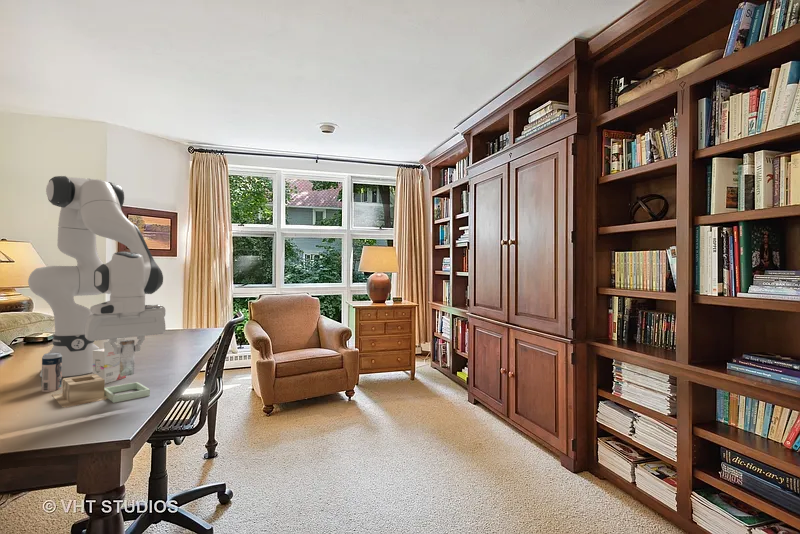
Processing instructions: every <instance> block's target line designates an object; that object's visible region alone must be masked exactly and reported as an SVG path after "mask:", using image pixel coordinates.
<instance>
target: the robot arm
mask: <svg viewBox="0 0 800 534" xmlns="http://www.w3.org/2000/svg"><path fill="white" fill-rule="evenodd" d="M45 192H46V193H45V194H46V197H47V199H48V202H49V203H51V205H53V206H56V207H60V212H59V216H58V224H57V226H58V227H57V249H58V250H59V251H60V252H61V253H62V254H64V255H66V256H68V257H70V258H74V259H75V260H76V264H77V265H50V266H43V267H37V268H35V269H34V270H33V271H32V272H31V273H30V275H29V277H28V280H27V283H28V288H29V289H30V291H31V292H32V293H33V294H35V296H38V297H40V298H41V299H42V300H44V301H45V302H46V303H47V305H49V307H50V308H51V311H52V313H53V318H54V320H53V321H54V334H53V336H52V337H53V338H52V345H53V346H52V348H51V349H50V350H49V351H48V353H60V354H61V355H62V378H67V377H77V376H83V375H88V374H92V373H93V350H98V349H100V347H99V346H98V345H96V344H95V343H94V342H97V341H104V340H105V341H106V340H108V341H109V342H110V344H111V346H112V347H113V348H114V354H120V353H121V347H117V346H116V345H117V343H115V342H117V339H122V338H125V339H127V338H134V337H136V338H137V340H138V341H137V342H136V344H134V353H135V352H141V346H142V344H143V342H145V340H146V339H145V336H154V335H156V336H157V335H163V334H164V333H165V332H166V331H167V330H166V329H167V327H166V320H165V317H166V308H165V307H164V305H161V304H146V295H152V294H154V293H155V292H157V291H158V290H159V289H160V288H161V287H162V286H163V283H164V275H163V272H162V270H161V268H160V267H159V265H158V264H157V263H156V261H155V259H154V257H153V254H152V253H151V250H150V249H149V246H148V245H147V243H146V240H145V239H144V236H143V234H142V233H141V230H140V229H139V227H138V226H137V224H134V223H133V222H132V221H131V220H129V219H128V218H127V216H126V215H125V213H123V210H122V207H123V205H124V203H125V193H124V190H123V187H122V186H120V185H119V184H116V183H115V182H110V181H109V182H107V181H105V180H102V179H98V178H97V179H94V178H85V177H70V176H69V177H68V176H66V175H56V176H53V177H52V178H50V179H49V180H48V182H47V185H46V187H45ZM97 236H99V237H103V238H106V239H109V240H112V241H116V242H118V243H120V244H122V245H124V246H126V247H127V249H128V250H129V251H116V252H114V253H113V254H112V255H111V256H112V257H111V260H109V261H108V262H106V263H104V262H103V261H102V260H101V258H100V255H99V253H98V250H97ZM104 294H108V295H109V300H107V301H105V302H100V303H98V304H93V305H92V306H90V308H89V307H86V306H84V305H82V304H78V303H76V302H75V300H74V297H79V296H81V297H82V296H83V297H84V296H99V295H104ZM39 378H42V370H40V373H39Z"/></svg>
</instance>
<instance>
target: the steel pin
mask: <svg viewBox="0 0 800 534" xmlns="http://www.w3.org/2000/svg"><path fill="white" fill-rule="evenodd" d="M134 345H135V340H134V339H128V340H127V339H125V340H124V341H120V347H121V353H120V376H126V377H127V376H133V375H135V352H134Z"/></svg>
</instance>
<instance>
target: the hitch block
mask: <svg viewBox="0 0 800 534" xmlns="http://www.w3.org/2000/svg"><path fill="white" fill-rule="evenodd" d="M105 385H106V384H105V380H104V379H103V378H101V377H100V376H98V375H97V374H93V373H90V374H83V375H76V376H69V377H63V378H62V392H61V393H55V394H51V396H52V397H53V399H55V401H57V403H58V404H59V405H60V406H61V407H62V408H64V409H65V408H68V407H69V408H70V407H74V406H79V405H84V404H89V403H90V404H91V403H95V402H99V401H107V400H109V399H108V398H107V397H106V396H104V388H106V387H105Z"/></svg>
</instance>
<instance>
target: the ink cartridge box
mask: <svg viewBox="0 0 800 534" xmlns="http://www.w3.org/2000/svg"><path fill="white" fill-rule="evenodd" d="M124 340H126V338H117V342H114V343H115V344H116V346H117V347H120V341H124ZM92 374H97V375H98V376H100V377H101V378H103V379H104V380H105V385H106V384H108V383H112V382H115V381H119V380H122V379H125V378H126V377H127V376H120V354H114V348H113V347H112V345H111V344H110V342H109V340H108V341H106V340H105V341H104V342H103V348H99V349H98V350H93V372H92Z"/></svg>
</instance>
